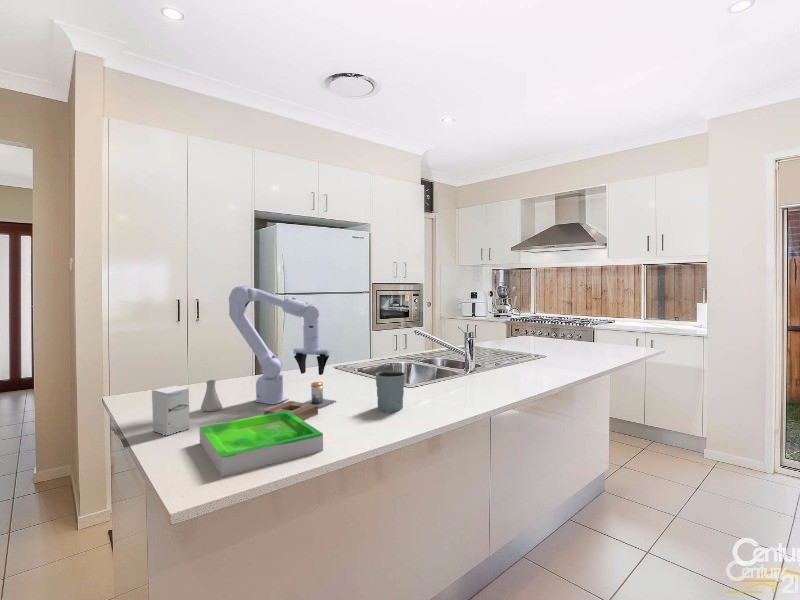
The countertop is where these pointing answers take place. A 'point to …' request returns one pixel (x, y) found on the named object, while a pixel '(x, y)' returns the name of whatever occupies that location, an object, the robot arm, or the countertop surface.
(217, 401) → the flask
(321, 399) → the glass jar
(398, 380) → the grey cup
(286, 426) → the tray
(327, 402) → the mat
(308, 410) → the housing
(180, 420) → the supplement box
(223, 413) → the countertop surface
